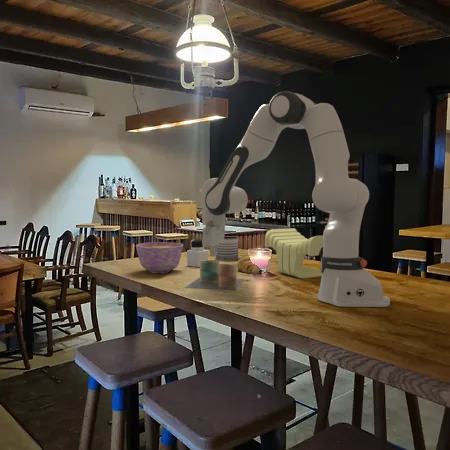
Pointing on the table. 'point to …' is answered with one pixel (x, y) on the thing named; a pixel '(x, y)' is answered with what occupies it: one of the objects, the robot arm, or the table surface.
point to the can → (228, 249)
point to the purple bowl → (159, 256)
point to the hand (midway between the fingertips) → (213, 256)
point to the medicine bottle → (196, 253)
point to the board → (211, 285)
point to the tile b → (227, 275)
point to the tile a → (209, 271)
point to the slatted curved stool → (294, 251)
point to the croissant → (247, 265)
